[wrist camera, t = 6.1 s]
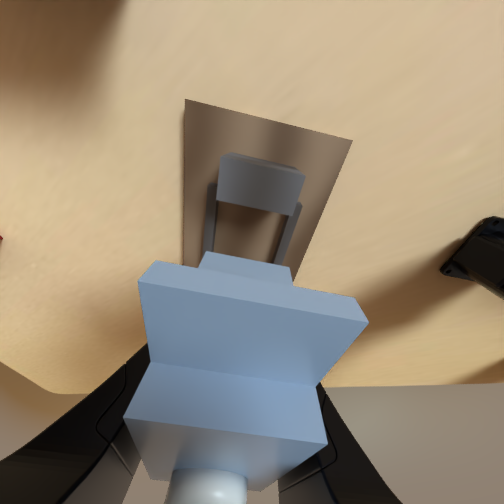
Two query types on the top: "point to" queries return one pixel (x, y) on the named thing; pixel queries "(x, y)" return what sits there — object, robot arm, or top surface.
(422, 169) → the top surface
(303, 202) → the pocket board
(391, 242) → the top surface
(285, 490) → the robot arm
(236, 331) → the block
